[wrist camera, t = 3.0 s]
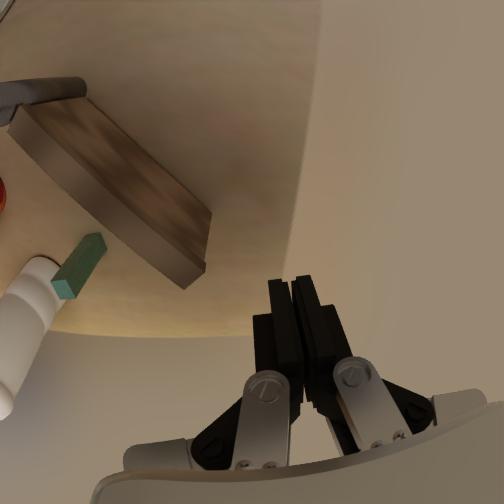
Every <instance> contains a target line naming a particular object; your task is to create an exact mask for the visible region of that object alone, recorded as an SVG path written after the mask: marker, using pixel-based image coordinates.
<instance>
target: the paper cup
mask: <svg viewBox="0 0 504 504" xmlns="http://www.w3.org/2000/svg"><path fill="white" fill-rule="evenodd" d="M5 202H6V193H5V188H4V185H3V182H2V180H1V178H0V212H1V211H2V209H3V208H4V206H5Z"/></svg>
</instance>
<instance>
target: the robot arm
mask: <svg viewBox="0 0 504 504" xmlns="http://www.w3.org/2000/svg"><path fill="white" fill-rule="evenodd" d="M13 1H14V0H0V21H1V19H2V18H3V16H4V15H5V13H6V12H7V10H8V9H9V7H10V6H11V4H12V2H13ZM268 286H269V295H270V304H271V312H272V313H269V314H261V315H253V333H254V349H255V366H256V373H255V374H254V375H252V376H251V377H250V378H249V379H248V380H247V381H246V383H245V386H244V390H243V396H242V397H241V398H240V399H239V400H238V401H237V402H236V403H235V404H233V405H232V406H231V407H230V408H229V409H228V410H227V411H226V412H224V413H223V414H222V415H221V416H220V417H219V418H218V419H216V420H215V421H214V422H213V423H212V424H211V425H209V426H208V427H207V428H206V429H205V430H204V431H202V432H201V433H200V434H199V435H197V436H196V437H195V438H192V439H187V440H186V439H184V438H181V439H176V440H169V441H162V442H155V443H147V444H138V445H134V446H131V447H130V448H128V449H127V450H126V452H125V453H124V456H123V466H124V471H123V472H119V473H115V474H112V475H109V476H107V477H105V478H104V479H102V480H101V481H100V482H99V483H98V484H97V486H96V487H95V489H94V491H93V494H92V497H91V501H90V504H504V401H498V402H492V403H488V404H487V400H486V397H485V395H484V394H483V393H482V392H481V391H480V390H478V389H469V390H463V391H458V392H453V393H447V394H440V395H433V396H432V398H425V397H423V396H421V395H419V394H416V393H414V392H412V391H409V390H407V389H405V388H402V387H400V386H398V385H395V384H393V383H391V382H389V381H386V380H384V379H382V378H380V376H379V374H378V372H377V371H376V369H375V367H374V366H373V365H372V364H371V362H370V361H368V360H366V359H364V358H362V357H355V356H353V355H352V352H351V349H350V347H349V344H348V341H347V338H346V335H345V333H344V330H343V327H342V325H341V322H340V319H339V317H338V314H337V311H336V309H335V307H334V305H333V304H331V305H325V306H321V305H320V302H319V299H318V296H317V293H316V290H315V287H314V284H313V281H312V279H311V276H310V275H305V276H297V277H296V280H295V281H291V286H292V300H291V295H290V291H289V287H288V282H282V279H274V280H268ZM304 388H305V393H306V399H307V402H310V401H312V403H313V408H317V412H318V413H320V414H322V415H324V416H325V418H326V422H327V424H328V427H329V429H330V432H331V434H332V437H333V439H334V442H335V444H336V447H337V449H338V452H339V454H340V457H338V458H333V459H328V460H323V461H318V462H312V463H306V464H300V465H293V466H289V459H290V441H291V424H292V423H293V422H294V421H295V420H296V419H297V418H298V417H299V416H300V403H303V393H304Z"/></svg>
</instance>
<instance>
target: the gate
mask: <svg viewBox="0 0 504 504" xmlns="http://www.w3.org/2000/svg"><path fill="white" fill-rule="evenodd" d="M7 132H8V134H9V135H10V136H11V137H12V138H13V139H14V140H15V141H16V142H17V143H18V144H19V145H20V147H21V148H22V149H23V150H24V151H25V152H26V153H27V154H28V155H29V156H30V157H31V158H32V159H33V160H34V161H35V162H36V163H37V164H38V165H39V166H40V167H41V168H42V169H43V170H44V171H45V172H46V173H47V174H48V175H49V176H50V177H51V178H52V179H53V180H54V181H55V182H56V183H57V184H58V185H59V186H60V187H61V188H62V189H64V190H65V191H66V192H67V193H68V194H69V195H70V196H71V197H72V198H73V199H74V200H75V201H76V202H78V203H79V204H80V205H81V206H82V207H83V208H84V209H85V210H86V211H88V212H89V213H90V214H91V215H92V216H93V217H94V218H95V219H97V220H98V221H99V222H100V223H101V224H102V225H103V226H105V227H106V228H107V229H108V230H109V231H110V232H112V233H113V234H114V235H115V236H116V237H118V238H119V239H120V240H121V241H122V242H124V243H125V244H126V245H127V246H128V247H130V248H131V249H132V250H133V251H134V252H136V253H137V254H138V255H139V256H141V257H142V258H143V259H144V260H146V261H147V262H148V263H149V264H151V265H152V266H153V267H154V268H156V269H157V270H158V271H160V272H161V273H162V274H163V275H165V276H166V277H167V278H169V279H170V280H171V281H173V282H174V283H175V284H176V285H178V286H179V287H180V288H182V289H183V290H185V289H186V288H187V287H188V286H189V285H190V284H192V283H193V282H194V281H195V280H196V279H198V278H199V277H200V276H201V275H202V274H204V273H205V268H206V263H205V262H204V259H205V252H206V246H207V240H208V234H209V228H210V222H211V217H212V213H211V212H210V211H209V210H208V209H207V208H205V207H204V206H203V205H202V204H201V203H200V202H199V201H198V200H197V199H196V198H195V197H193V196H192V195H191V194H190V193H189V192H188V191H187V190H186V189H185V188H184V187H182V186H181V185H180V184H179V183H178V182H177V181H176V180H175V179H174V178H173V177H172V176H170V175H169V174H168V173H167V172H166V171H165V170H164V169H163V168H162V167H161V166H159V165H158V164H157V163H156V162H155V161H154V160H153V159H152V158H151V157H150V156H148V155H147V154H146V153H145V152H144V151H143V150H142V149H141V148H140V147H139V146H138V145H136V144H135V143H134V142H133V141H132V140H131V139H130V138H129V137H128V136H127V135H125V134H124V133H123V132H122V131H121V130H120V129H119V128H118V127H117V126H116V125H114V124H113V123H112V122H111V121H110V120H109V119H108V118H107V117H106V116H105V115H103V114H102V113H101V112H100V111H99V110H98V109H97V108H96V107H95V106H94V105H92V104H91V103H90V102H89V101H88V100H87V99H86V98H85V97H80V98H72V99H66V100H59V101H53V102H48V103H42V104H37V105H33V106H31V105H30V104H24V105H20V106H19V108H18V110H17V112H16V114H15V116H14V118H13V120H12V122H11V124H10V127H9V129H8V131H7Z"/></svg>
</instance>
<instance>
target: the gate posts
mask: <svg viewBox="0 0 504 504" xmlns="http://www.w3.org/2000/svg"><path fill="white" fill-rule="evenodd" d="M86 91H87V88H86V84H85V82H84V80H83V79H81V78H79V77H56V78H38V79H26V80H17V81H9V82H2V83H0V127H2V126H5V125H8V124H11V122H12V120H13V118H14V116H15V114H16V112H17V110H18V108H19V106H20V105H24V104H30V105H31V106H33V105H37V104H42V103H48V102H53V101H59V100H66V99H72V98H80V97H85V96H86ZM106 250H107V248H106V246H105V243H104V241H103V238H102V236H101V233H96V234H92V235H87V236H85V237H84V238H83V240H82V241H81V242H80V243H79V244H78V246H77V247H76V248H75V249H74V251H73V252H72V253H71V254H70V256H69V257H68V258H67V259H66V261H65V262H64V263H63V265H62V266H61V267H60V269H59V270H58V271H57V273H56V274H55V275H54V277H53V278H52V280H51V281H50V283H51V284H52V286H53V288H54V290H55V292H56V293H57V295H58V297H59V299H60V300H63V299H75V298H77V296H78V294H79V292H80V291H81V289H82V287H83V286H84V284H85V282H86V281H87V279H88V278H89V276H90V274H91V273H92V271H93V270H94V268H95V266H96V265H97V263H98V262H99V260H100V259H101V257H102V256H103V254H104V253H105V251H106Z"/></svg>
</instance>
